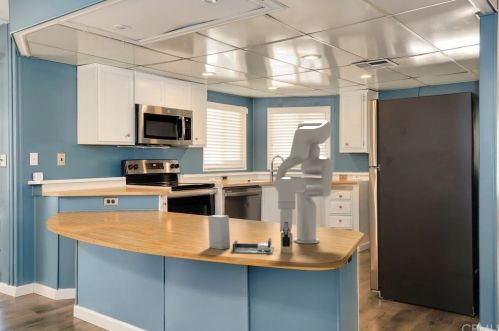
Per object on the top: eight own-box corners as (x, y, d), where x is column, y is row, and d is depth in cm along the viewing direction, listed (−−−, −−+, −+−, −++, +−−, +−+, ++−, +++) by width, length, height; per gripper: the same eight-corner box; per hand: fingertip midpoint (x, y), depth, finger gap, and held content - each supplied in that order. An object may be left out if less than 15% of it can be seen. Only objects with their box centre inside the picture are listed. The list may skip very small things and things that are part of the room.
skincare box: (230, 248, 195) (230, 215, 195) (221, 250, 190) (221, 216, 190) (217, 245, 200) (217, 214, 200) (207, 247, 196) (207, 215, 196)
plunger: (259, 247, 193) (259, 237, 193) (271, 247, 192) (271, 238, 192) (257, 251, 183) (257, 241, 183) (269, 252, 183) (269, 242, 183)
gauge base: (234, 247, 197) (234, 239, 197) (273, 248, 194) (273, 240, 194) (230, 253, 185) (230, 244, 185) (272, 254, 183) (272, 246, 182)
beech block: (281, 250, 191) (281, 232, 190) (292, 250, 190) (292, 232, 190) (280, 252, 186) (280, 234, 185) (292, 253, 185) (292, 234, 185)
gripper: (279, 203, 196) (278, 240, 196) (277, 207, 179) (276, 248, 179) (295, 203, 196) (295, 241, 196) (295, 207, 178) (294, 248, 178)
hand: (286, 244), depth 187 cm, fingers open, 9 cm apart
